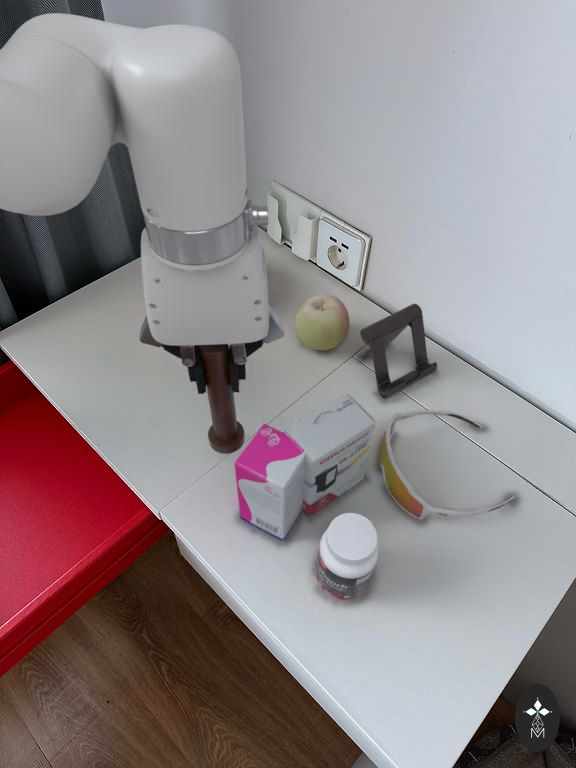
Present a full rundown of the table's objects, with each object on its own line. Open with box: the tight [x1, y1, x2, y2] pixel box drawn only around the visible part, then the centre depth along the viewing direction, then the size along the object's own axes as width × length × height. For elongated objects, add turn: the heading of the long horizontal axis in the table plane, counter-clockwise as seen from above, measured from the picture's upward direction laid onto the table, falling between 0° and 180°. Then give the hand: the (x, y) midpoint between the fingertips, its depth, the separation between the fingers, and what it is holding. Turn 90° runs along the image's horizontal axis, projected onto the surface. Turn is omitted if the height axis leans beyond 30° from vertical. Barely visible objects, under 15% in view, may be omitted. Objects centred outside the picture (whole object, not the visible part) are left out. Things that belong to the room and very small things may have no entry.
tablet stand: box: [359, 302, 438, 400], centre depth 75 cm, size 9×8×8 cm
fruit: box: [294, 294, 350, 351], centre depth 79 cm, size 8×7×8 cm
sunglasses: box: [379, 409, 516, 521], centre depth 67 cm, size 14×15×5 cm
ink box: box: [284, 393, 377, 517], centre depth 63 cm, size 9×5×12 cm, turn 126°
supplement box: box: [233, 423, 306, 542], centre depth 60 cm, size 6×6×12 cm
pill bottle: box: [315, 512, 380, 602], centre depth 56 cm, size 6×6×10 cm
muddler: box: [200, 344, 246, 455], centre depth 58 cm, size 4×4×16 cm
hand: (219, 381), depth 56 cm, fingers closed on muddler, 2 cm apart
